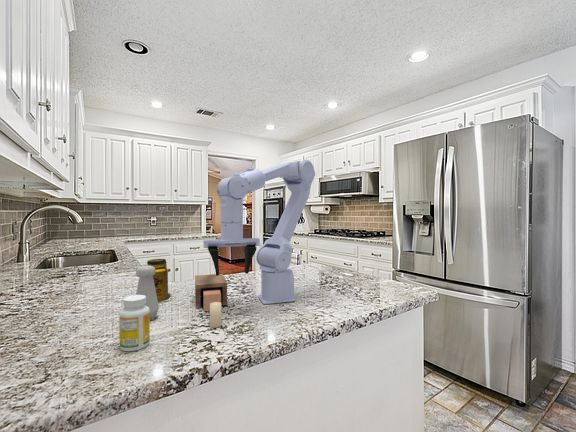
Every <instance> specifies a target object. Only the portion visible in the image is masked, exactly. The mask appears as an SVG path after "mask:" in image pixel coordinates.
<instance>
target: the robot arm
mask: <svg viewBox="0 0 576 432" xmlns="http://www.w3.org/2000/svg"><path fill="white" fill-rule="evenodd" d="M315 176H316V172H315V168H314V165H313V163H312V161H310V160H309V159H303V160H294V161H288V162H283V163H278V164H276V165H273V166H271V167H269V168H265V169H264V170H260V169H259V168H254V167H250V168H247V169H246V171H245V172H241V173H239V172H235V173H233V176H230V177H225V178H222V179H221V180H220V181H219V182H218V184H217V187H215V190H216V194H217V196H218V197H219V200H220V238H213V239H203V245H202V246H203V248H204V249H207V250H208V252H209V255H210V257H211V260H212V262H213V265H214V271H215V274H216V276H219V274H220V267H219V253H220V252H219V248H225V247H226V248H229V247H231V248H232V247H243V248H244V249H243V251H244V273H245V274H249V271H250V267H251V264H252V260H253V259H254V256H255V253H256V256H255V257H256V259H255V261H256V263H257V264H258V265H259V269H260V270H261V276H260V277H261V278H260V279H261V282H260V284H261V286H260V287H261V294H258V295H257V298H258V299H259V301H261V303H262V304H263V305H270V304H271V305H272V304H280V303H289V302H295V301H296V299H295V277H294V275H295V274H294V272H293V269H290V268H289V266H290V265H291V262H292V254H293V251H294V249H293V247H292V245H291V244H290V242H291V239H292V237H293V235H294V233H295V230H296V228H297V226H298V223H299V220H300V218H301V216H302V213H303V211H304V209H305V207H306V203H307V202H308V199H309V197H310V194H311V193H310V192H311V185H312V184H313V182H314V179H315ZM277 178H279V179H282V180H283V181H284V183H285V186H286V188H287V189H288V190H289V191H290V192H291V194H290V196H289V199H288V201H287V202H286V205H285V207H284V210H283V213H282V214H281V216H280V219H279V220H278V223H277V225H276V227H275V230H274V232H273V235H272V236H271V237H269V238H268V239H266V240H265V241H264V243H263V245H261V242H260V241H261V238H259V237H253V238H252V237H244V216H243V215H244V205H243V204H244V202H243V200H244V198H245V197H246V195H248V194H250V193H252V192H255V191H257V190H260V189H262V188H264V187H265V185H266V182H269V181H272V180H274V179H277ZM260 245H261V247H260V248H259V249H258V250H257V247H259V246H260ZM256 251H257V252H256Z"/></svg>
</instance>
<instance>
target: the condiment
mask: <svg viewBox="0 0 576 432" xmlns="http://www.w3.org/2000/svg"><path fill="white" fill-rule="evenodd" d="M146 266H153V267H154V268H155V275H153V280H154V285H155V290H156V295H157V300H158V303H164V302H169V301H172V294H171V292H169V280H168V279H169V271H168V267H167V259H166V258H155V259H154V258H152V259H149V260H147V262H146ZM170 297H171V298H170ZM169 298H170V299H171V300H170V299H169Z"/></svg>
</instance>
